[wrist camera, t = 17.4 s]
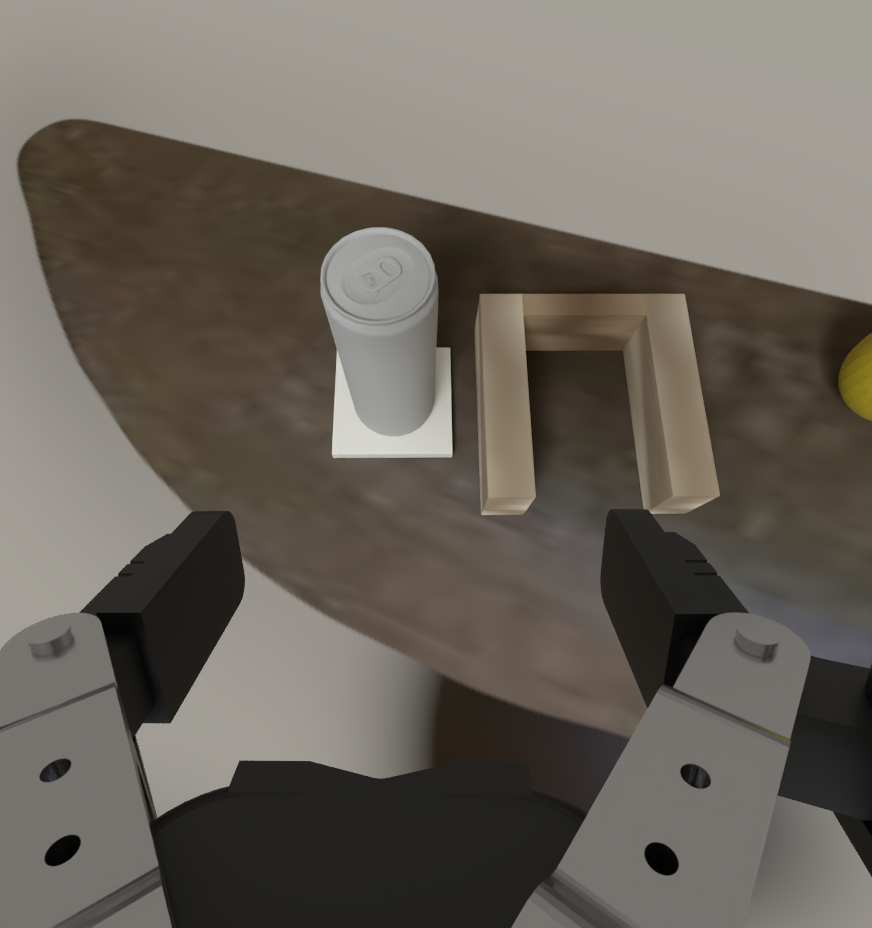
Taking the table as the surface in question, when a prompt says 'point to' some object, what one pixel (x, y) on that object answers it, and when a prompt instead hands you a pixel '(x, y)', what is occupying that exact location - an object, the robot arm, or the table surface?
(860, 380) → the lemon
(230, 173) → the table surface
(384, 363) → the beverage can
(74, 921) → the robot arm
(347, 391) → the tile
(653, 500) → the lane rack
